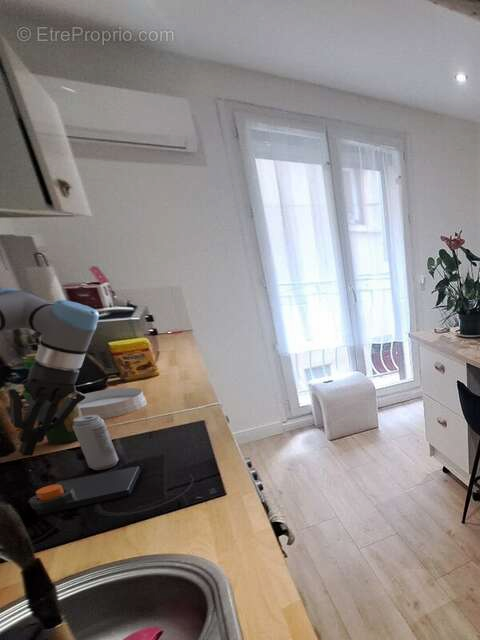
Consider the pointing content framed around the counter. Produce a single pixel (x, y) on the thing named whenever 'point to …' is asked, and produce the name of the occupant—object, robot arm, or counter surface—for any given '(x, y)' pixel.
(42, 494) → the tare button
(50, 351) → the robot arm
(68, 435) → the bottle
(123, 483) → the scale
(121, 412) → the dish
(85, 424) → the energy drink can
